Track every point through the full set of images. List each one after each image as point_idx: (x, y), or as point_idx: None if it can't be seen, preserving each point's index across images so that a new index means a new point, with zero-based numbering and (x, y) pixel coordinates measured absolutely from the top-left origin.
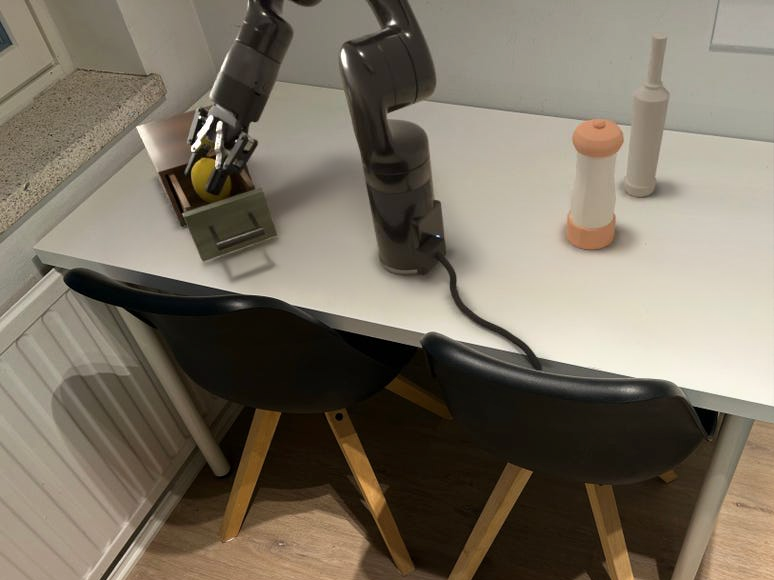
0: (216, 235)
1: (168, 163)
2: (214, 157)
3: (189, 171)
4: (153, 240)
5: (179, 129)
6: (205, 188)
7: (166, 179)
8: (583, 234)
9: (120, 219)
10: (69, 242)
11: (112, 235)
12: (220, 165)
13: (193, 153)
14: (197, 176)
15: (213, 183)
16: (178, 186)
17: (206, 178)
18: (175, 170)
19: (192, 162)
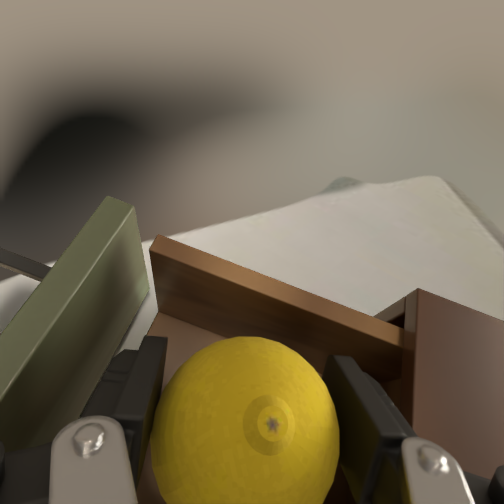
0: (19, 266)
1: (459, 351)
2: None
3: (337, 371)
4: (315, 280)
5: None
6: (160, 337)
7: (393, 316)
8: None
9: (431, 283)
10: (413, 199)
11: (387, 246)
12: (51, 447)
13: (399, 435)
14: (231, 343)
15: (123, 370)
16: (304, 303)
17: (185, 369)
18: (404, 351)
19: (357, 400)
